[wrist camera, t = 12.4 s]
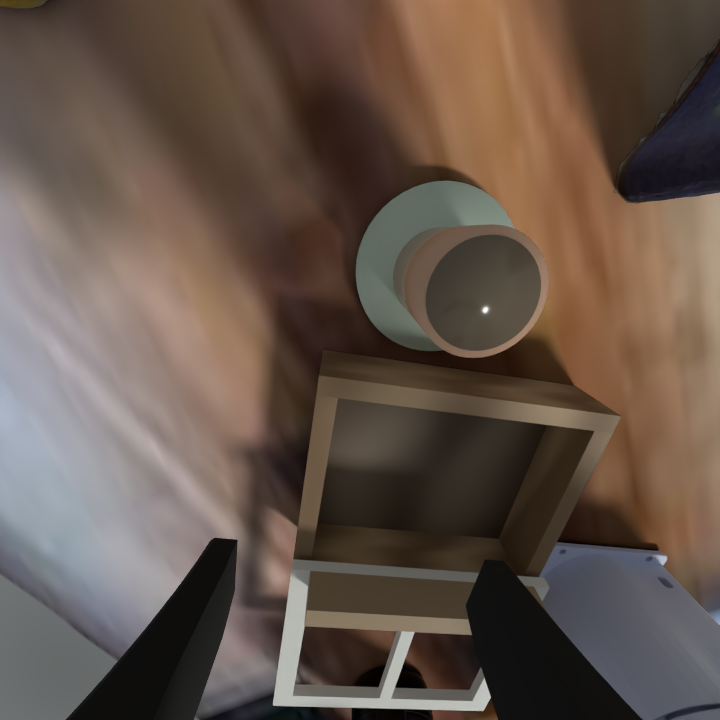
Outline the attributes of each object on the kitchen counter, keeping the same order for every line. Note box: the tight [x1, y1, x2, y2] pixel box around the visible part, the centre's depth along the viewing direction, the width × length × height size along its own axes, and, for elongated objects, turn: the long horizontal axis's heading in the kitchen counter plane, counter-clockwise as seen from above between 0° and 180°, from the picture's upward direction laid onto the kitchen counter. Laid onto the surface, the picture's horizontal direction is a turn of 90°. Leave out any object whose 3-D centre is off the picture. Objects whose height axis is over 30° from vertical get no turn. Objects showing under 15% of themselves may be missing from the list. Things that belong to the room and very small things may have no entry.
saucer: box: [355, 181, 514, 351], centre depth 16 cm, size 8×8×1 cm
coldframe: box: [293, 350, 621, 577], centre depth 19 cm, size 15×13×4 cm
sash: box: [273, 559, 550, 711], centre depth 20 cm, size 15×13×3 cm
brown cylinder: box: [393, 224, 548, 358], centre depth 14 cm, size 4×4×6 cm
